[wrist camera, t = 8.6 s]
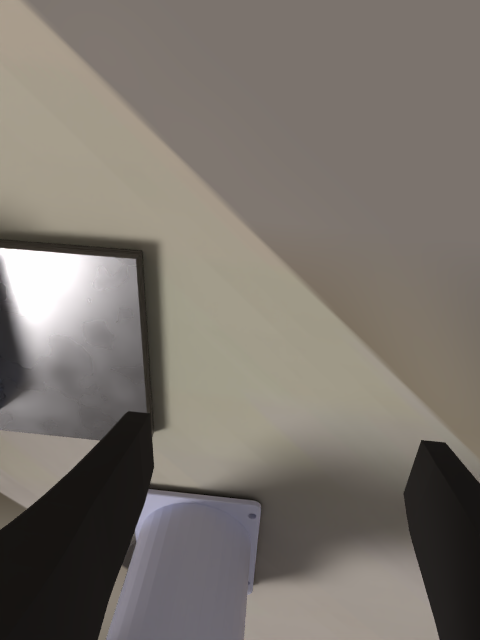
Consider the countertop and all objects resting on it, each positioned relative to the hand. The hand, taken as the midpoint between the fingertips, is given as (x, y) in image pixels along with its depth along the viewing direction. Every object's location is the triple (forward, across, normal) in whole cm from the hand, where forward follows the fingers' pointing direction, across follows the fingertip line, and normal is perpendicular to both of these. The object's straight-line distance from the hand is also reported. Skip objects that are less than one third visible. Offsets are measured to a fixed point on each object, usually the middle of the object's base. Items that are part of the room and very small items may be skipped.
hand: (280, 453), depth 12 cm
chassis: (+10, +14, +4) cm, 18 cm away
